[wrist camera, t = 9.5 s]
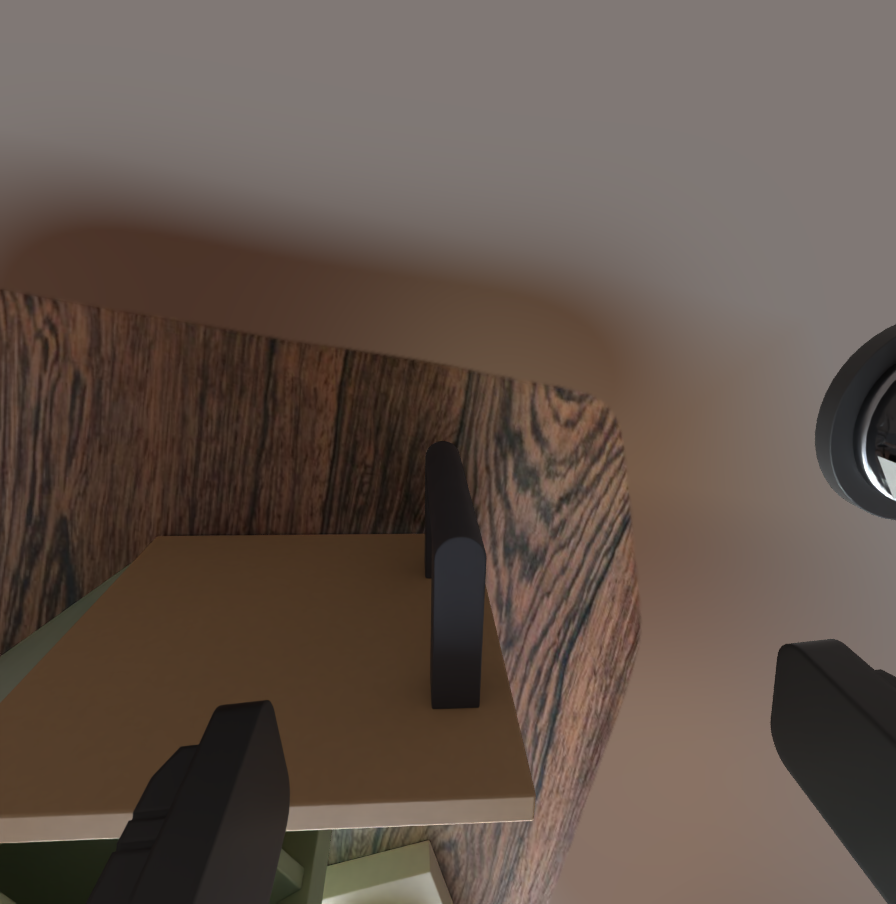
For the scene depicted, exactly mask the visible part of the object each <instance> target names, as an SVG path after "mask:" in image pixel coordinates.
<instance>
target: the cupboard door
mask: <svg viewBox="0 0 896 904" xmlns="http://www.w3.org/2000/svg"><path fill="white" fill-rule="evenodd" d="M485 578H486V552H485V548H484V545H483V541H482V537H481V533H480V530H479V526H478V522H477V518H476V515H475V511H474V507H473V503H472V500H471V496H470V492H469V488H468V485H467V481H466V477H465V473H464V469H463V466H462V462H461V458H460V454H459V451H458V449H457V448H456V447H455V446H454V445H453V444H452V443H450V442H447V441H439V442H436V443H434V444H432V445H431V446H430V447H429V448H428V450H427V452H426V456H425V534H330V535H216V536H157V537H156V538H155V539H154V540H153V541H152V542H151V543H150V544H149V545H148V547H147V548H146V549H145V550H144V551H143V552H142V553H141V554H140V555H139V556H138V557H137V558H136V559H135V560H134V561H133V562H132V564H131V565H130V566H129V567H128V568H127V569H126V570H125V571H124V572H123V573H122V574H121V575H120V576H119V577H118V578H117V579H116V580H115V582H114V583H113V584H112V585H111V586H110V587H109V588H108V589H107V590H106V591H105V592H104V593H103V594H102V595H101V596H100V597H99V599H98V600H97V601H96V602H95V603H94V604H93V605H92V606H91V607H90V608H89V609H88V610H87V611H86V612H85V613H84V614H83V615H82V617H81V618H80V619H79V620H78V621H77V622H76V623H75V624H74V625H73V626H72V627H71V628H70V629H69V630H68V631H67V632H66V634H65V635H64V636H63V637H62V638H61V639H60V640H59V641H58V642H57V643H56V644H55V645H54V646H53V647H52V648H51V649H50V650H49V652H48V653H47V654H46V655H45V656H44V657H43V658H42V659H41V660H40V661H39V662H38V663H37V664H36V665H35V666H34V667H33V669H32V670H31V671H30V672H29V673H28V674H27V675H26V676H25V677H24V678H23V679H22V680H21V681H20V682H19V683H18V684H17V685H16V687H15V688H14V689H13V690H12V691H11V692H10V693H9V694H8V695H7V696H6V697H5V698H4V699H3V700H2V701H1V702H0V843H19V842H43V841H67V840H90V839H114V838H120V836H121V835H122V833H123V831H124V829H125V827H126V825H127V823H128V821H129V820H132V818H133V811H134V809H135V808H136V806H137V804H138V802H139V800H140V798H141V796H142V794H143V792H144V790H145V788H146V786H147V784H148V782H149V781H150V779H151V777H152V776H153V775H154V774H155V773H156V772H157V771H158V770H159V769H160V768H161V767H162V765H163V764H164V763H165V762H166V761H167V760H168V759H169V758H170V757H171V756H172V755H173V754H174V753H175V752H176V751H177V750H178V749H179V748H180V746H189V745H198V744H199V743H200V741H201V738H202V736H203V734H204V732H205V730H206V727H207V725H208V723H209V721H210V719H211V716H212V714H213V712H214V710H215V709H216V708H217V707H218V706H220V705H226V704H235V703H244V702H253V701H262V700H269V701H270V702H271V703H272V705H273V708H274V711H275V716H276V720H277V725H278V729H279V734H280V739H281V743H282V748H283V752H284V757H285V761H286V766H287V770H288V775H289V783H290V807H289V816H288V822H287V827H286V831H303V830H327V829H350V828H374V827H397V826H421V825H445V824H468V823H492V822H516V821H532V820H533V818H534V809H535V797H536V794H535V790H534V785H533V781H532V777H531V773H530V769H529V765H528V760H527V756H526V752H525V748H524V744H523V739H522V735H521V731H520V727H519V723H518V718H517V714H516V710H515V706H514V702H513V698H512V693H511V689H510V685H509V681H508V677H507V672H506V668H505V664H504V660H503V656H502V651H501V647H500V643H499V639H498V635H497V631H496V626H495V622H494V618H493V614H492V610H491V605H490V601H489V597H488V593H487V589H486V585H485Z"/></svg>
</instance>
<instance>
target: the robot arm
mask: <svg viewBox="0 0 896 904" xmlns="http://www.w3.org/2000/svg"><path fill="white" fill-rule="evenodd" d="M853 452H854V458H855V462H856V465H857V467H858V470H859V472H860V474H861V475H862V477H863V478H864V480H865V481H866V482H867V483H868V484H869V485H870V486H871V487H872V488H873V489H874V490H876V491H877V492H879V493H880V494H882V495H884V496H886V497H888V498H890V499H892V500H894V501H896V363H895V364H894V365H893V366H892V367H890V368H889V369H888V370H887V371H886V372H885V373H884V374H883V375H882V376H881V377H880V379H879V380H878V381H877V382H876V383H875V385H874V386H873V387H872V389H871V390H870V392H869V393H868V395H867V397H866V398H865V400H864V402H863V404H862V406H861V408H860V411H859V413H858V416H857V420H856V423H855V428H854V434H853ZM771 733H772V737H773V741H774V744H775V747H776V750H777V752H778V754H779V756H780V759H781V760H782V762H783V764H784V765H785V767H786V768H787V770H788V771H789V772H790V774H791V775H792V776H793V778H794V779H795V780H796V781H797V783H798V784H799V786H800V787H801V788H802V790H803V791H804V792H805V794H806V795H807V796H808V798H809V799H810V801H811V802H812V803H813V805H814V806H815V807H816V808H817V810H818V811H819V813H820V814H821V815H822V817H823V818H824V819H825V821H826V822H827V823H828V825H829V826H830V827H831V829H832V830H833V831H834V833H835V834H836V835H837V837H838V838H839V839H840V840H841V842H842V843H843V845H844V846H845V847H846V849H847V850H848V851H849V853H850V854H851V855H852V857H853V858H854V859H855V861H856V862H857V863H858V865H859V866H860V867H861V869H862V870H863V871H864V873H865V874H866V875H867V877H868V878H869V879H870V881H871V882H872V883H873V885H874V886H875V887H876V889H877V890H878V891H879V893H880V894H881V895H882V897H883V898H884V899H885V901H886V902H887V903H888V904H896V677H895V676H893V675H891V674H889V673H887V672H885V671H883V670H874V669H873V668H872V667H870V666H869V665H868V664H867V663H866V662H865V661H863V660H862V659H861V658H860V657H859V656H857V654H855V653H854V652H853V651H852V650H851V649H850V648H848V647H847V646H846V645H845V644H843V643H842V642H840V641H838V640H835V639H827V640H819V641H809V642H801V643H791V644H785V645H783V646H782V647H781V648H780V650H779V652H778V657H777V665H776V675H775V684H774V695H773V704H772V713H771ZM289 807H290V783H289V775H288V770H287V766H286V761H285V757H284V752H283V748H282V743H281V739H280V734H279V729H278V725H277V720H276V716H275V711H274V708H273V705H272V703H271V702H270V701H269V700H262V701H253V702H244V703H235V704H226V705H220V706H218V707H217V708H216V709H215V710H214V712H213V714H212V716H211V719H210V721H209V723H208V725H207V727H206V730H205V732H204V734H203V736H202V738H201V741H200V743H199V744H198V745H189V746H180V748H179V749H178V750H177V751H176V752H175V753H174V754H173V755H172V756H171V757H170V758H169V759H168V760H167V761H166V762H165V763H164V764H163V765H162V767H161V768H160V769H159V770H158V771H157V772H156V773H155V774H154V775H153V776H152V777H151V779H150V781H149V782H148V784H147V786H146V788H145V790H144V792H143V794H142V796H141V798H140V800H139V802H138V804H137V806H136V808H135V809H134V811H133V818H132V820H129V821H128V823H127V825H126V827H125V829H124V831H123V833H122V835H121V836H120V838H119V840H118V842H117V849H116V851H115V852H112V854H111V856H110V858H109V860H108V862H107V863H106V865H105V867H104V869H103V871H102V873H101V875H100V877H99V879H98V881H97V883H96V885H95V887H94V889H93V890H92V892H91V894H90V896H89V898H88V900H87V902H86V904H269V901H270V897H271V892H272V888H273V883H274V879H275V875H276V870H277V866H278V862H279V857H280V853H281V849H282V844H283V840H284V836H285V831H286V827H287V822H288V816H289Z"/></svg>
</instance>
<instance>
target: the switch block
mask: <svg viewBox="0 0 896 904" xmlns="http://www.w3.org/2000/svg"><path fill="white" fill-rule="evenodd" d="M322 904H453V902H452V899H451V896H450V894H449V891H448V889H447V886H446V883H445V881H444V878H443V875H442V873H441V870H440V867H439V865H438V862H437V859H436V857H435V854H434V851H433V849H432V846H431V843H430V841H429V840H427V841H423V842H419V843H415V844H411V845H407V846H404V847H400V848H396V849H392V850H388V851H384V852H380V853H376V854H373V855H369V856H365V857H361V858H357V859H353V860H349V861H345V862H342V863H338V864H334V865H330V866H327V871H326V878H325V885H324V892H323V900H322Z"/></svg>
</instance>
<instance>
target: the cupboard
mask: <svg viewBox="0 0 896 904" xmlns="http://www.w3.org/2000/svg"><path fill="white" fill-rule="evenodd" d="M131 564H132V563H130V564H129V565H128V566H126V567H125V568H123V569H122V570H121V571H119V572H118V573H116V574H115V575H114V576H112V577H111V578H109V579H108V580H107V581H105V582H104V583H102V584H101V585H100V586H98V587H97V588H95V589H94V590H93V591H91V592H90V593H88V594H87V595H86V596H84V597H83V598H81V599H80V600H79V601H77V602H76V603H74V604H73V605H72V606H70V607H69V608H67V609H66V610H65V611H63V612H62V613H60V614H59V615H58V616H56V617H55V618H53V619H52V620H51V621H49V622H48V623H46V624H45V625H44V626H42V627H41V628H39V629H38V630H37V631H35V632H34V633H32V634H31V635H30V636H28V637H27V638H25V639H24V640H23V641H21V642H20V643H18V644H17V645H16V646H14V647H13V648H11V649H10V650H9V651H7V652H6V653H4V654H3V655H2V656H0V702H1V701H2V700H3V699H4V698H5V697H6V696H7V695H8V694H9V693H10V692H11V691H12V690H13V689H14V688H15V687H16V685H17V684H18V683H19V682H20V681H21V680H22V679H23V678H24V677H25V676H26V675H27V674H28V673H29V672H30V671H31V670H32V669H33V667H34V666H35V665H36V664H37V663H38V662H39V661H40V660H41V659H42V658H43V657H44V656H45V655H46V654H47V653H48V652H49V650H50V649H51V648H52V647H53V646H54V645H55V644H56V643H57V642H58V641H59V640H60V639H61V638H62V637H63V636H64V635H65V634H66V632H67V631H68V630H69V629H70V628H71V627H72V626H73V625H74V624H75V623H76V622H77V621H78V620H79V619H80V618H81V617H82V615H83V614H84V613H85V612H86V611H87V610H88V609H89V608H90V607H91V606H92V605H93V604H94V603H95V602H96V601H97V600H98V599H99V597H100V596H101V595H102V594H103V593H104V592H105V591H106V590H107V589H108V588H109V587H110V586H111V585H112V584H113V583H114V582H115V580H116V579H117V578H118V577H119V576H120V575H121V574H122V573H123V572H124V571H125V570H126V569H127V568H128V567H129V566H130V565H131ZM331 835H332V829H327V830H303V831H285V836H284V840H283V844H282V849H281V853H280V857H279V862H278V866H277V870H276V875H275V879H274V883H273V888H272V892H271V897H270V901H269V904H322V900H323V892H324V885H325V878H326V871H327V863H328V856H329V849H330V842H331ZM118 840H119V838H114V839H90V840H67V841H43V842H19V843H0V904H86V902H87V900H88V898H89V896H90V894H91V892H92V890H93V889H94V887H95V885H96V883H97V881H98V879H99V877H100V875H101V873H102V871H103V869H104V867H105V865H106V863H107V862H108V860H109V858H110V856H111V854H112V852H115V851H116V849H117V842H118Z"/></svg>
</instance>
